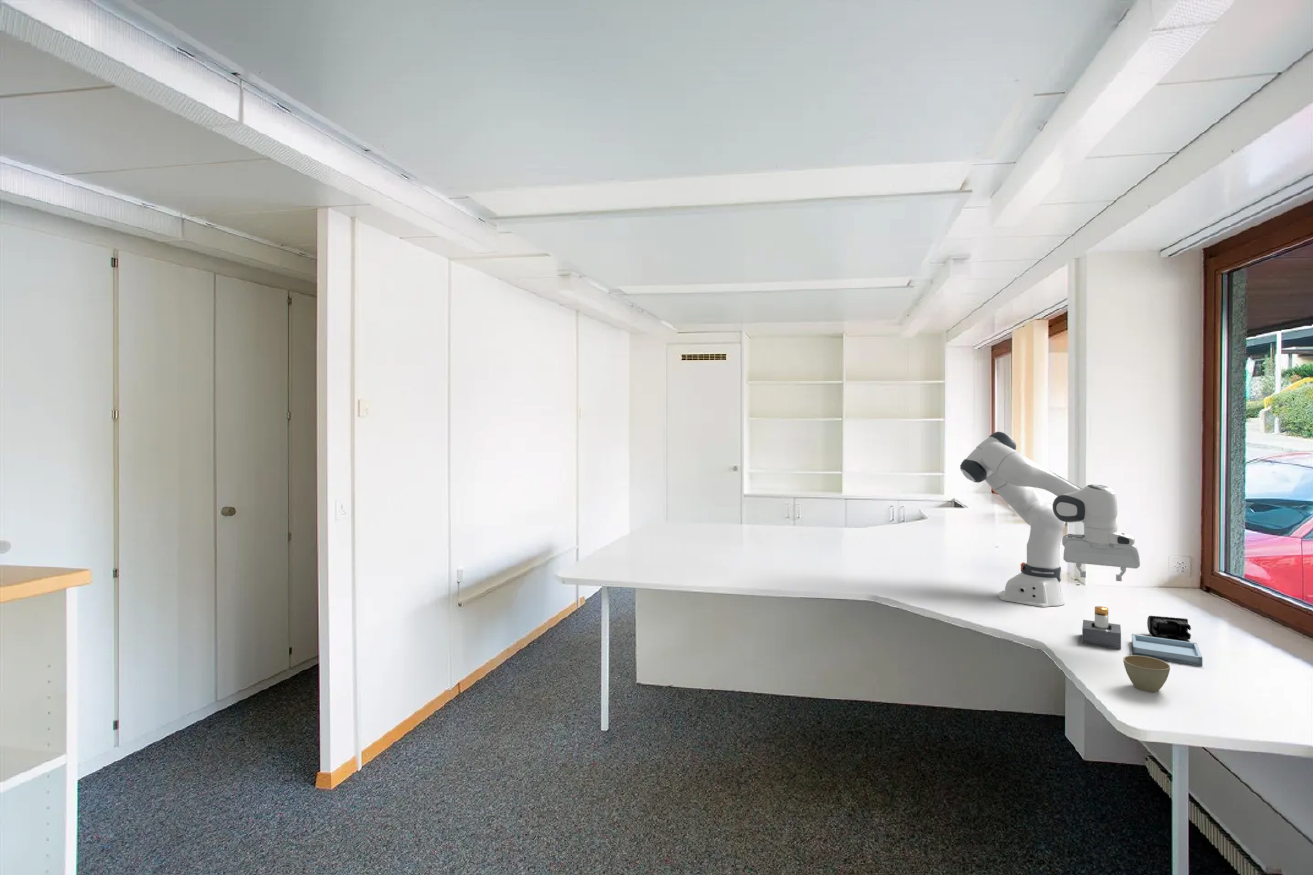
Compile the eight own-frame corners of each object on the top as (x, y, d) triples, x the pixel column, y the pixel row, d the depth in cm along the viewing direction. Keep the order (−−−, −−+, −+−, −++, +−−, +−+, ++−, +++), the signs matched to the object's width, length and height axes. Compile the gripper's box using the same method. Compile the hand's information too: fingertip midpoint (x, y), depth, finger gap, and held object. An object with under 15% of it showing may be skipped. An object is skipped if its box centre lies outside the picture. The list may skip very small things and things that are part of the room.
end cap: (1184, 636, 210) (1184, 616, 210) (1192, 643, 203) (1192, 622, 203) (1147, 633, 214) (1147, 613, 214) (1153, 640, 207) (1153, 619, 207)
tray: (1133, 655, 195) (1133, 647, 194) (1131, 641, 206) (1131, 633, 206) (1202, 666, 185) (1202, 657, 185) (1196, 651, 197) (1196, 643, 197)
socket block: (1082, 643, 205) (1082, 627, 205) (1083, 634, 213) (1083, 619, 213) (1120, 649, 200) (1120, 633, 199) (1120, 639, 208) (1120, 624, 208)
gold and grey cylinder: (1094, 642, 206) (1094, 608, 206) (1094, 639, 209) (1094, 605, 209) (1108, 644, 204) (1108, 610, 204) (1108, 641, 207) (1108, 607, 207)
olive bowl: (1113, 682, 176) (1113, 656, 176) (1148, 680, 177) (1147, 654, 177) (1144, 697, 166) (1144, 670, 166) (1180, 695, 167) (1180, 668, 167)
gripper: (1061, 534, 209) (1061, 576, 209) (1140, 540, 197) (1140, 585, 198) (1062, 531, 214) (1063, 572, 215) (1139, 537, 202) (1139, 580, 203)
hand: (1100, 578), depth 206 cm, fingers open, 8 cm apart
